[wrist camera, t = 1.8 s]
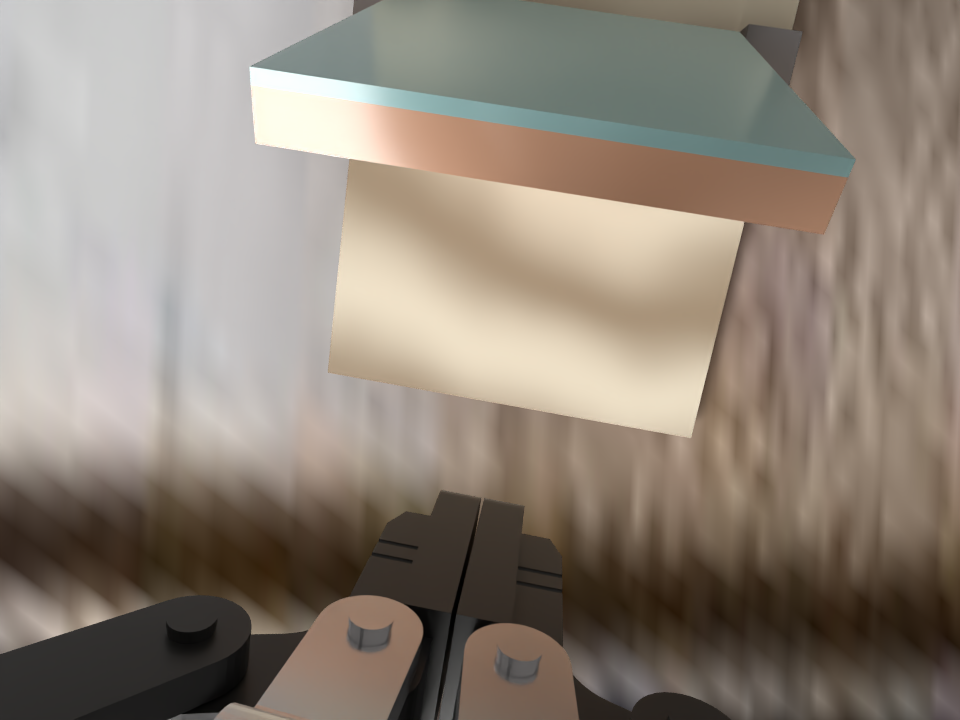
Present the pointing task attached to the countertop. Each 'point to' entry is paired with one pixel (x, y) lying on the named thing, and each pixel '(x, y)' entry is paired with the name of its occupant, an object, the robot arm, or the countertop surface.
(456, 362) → the board
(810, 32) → the countertop surface
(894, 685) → the countertop surface
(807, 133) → the tile
